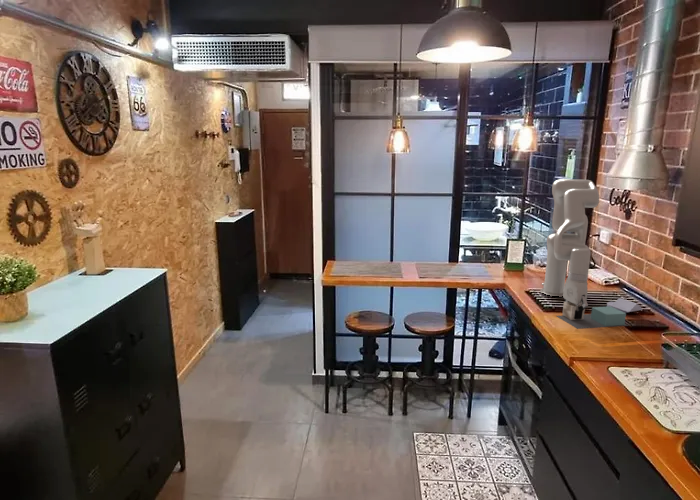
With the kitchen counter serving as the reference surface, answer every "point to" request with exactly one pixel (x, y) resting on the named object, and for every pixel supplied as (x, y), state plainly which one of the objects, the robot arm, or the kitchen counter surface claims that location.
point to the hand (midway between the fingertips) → (572, 315)
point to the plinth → (608, 316)
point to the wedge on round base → (624, 305)
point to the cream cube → (570, 310)
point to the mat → (585, 322)
